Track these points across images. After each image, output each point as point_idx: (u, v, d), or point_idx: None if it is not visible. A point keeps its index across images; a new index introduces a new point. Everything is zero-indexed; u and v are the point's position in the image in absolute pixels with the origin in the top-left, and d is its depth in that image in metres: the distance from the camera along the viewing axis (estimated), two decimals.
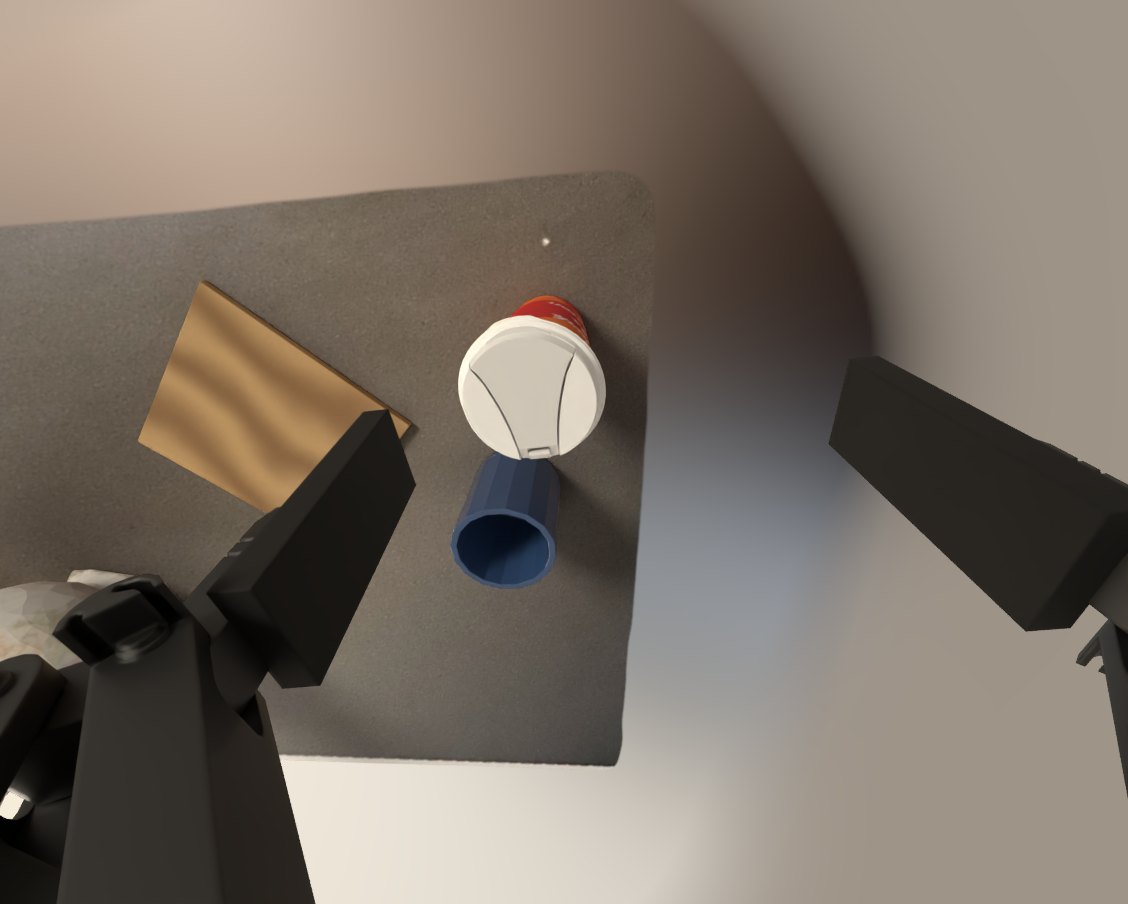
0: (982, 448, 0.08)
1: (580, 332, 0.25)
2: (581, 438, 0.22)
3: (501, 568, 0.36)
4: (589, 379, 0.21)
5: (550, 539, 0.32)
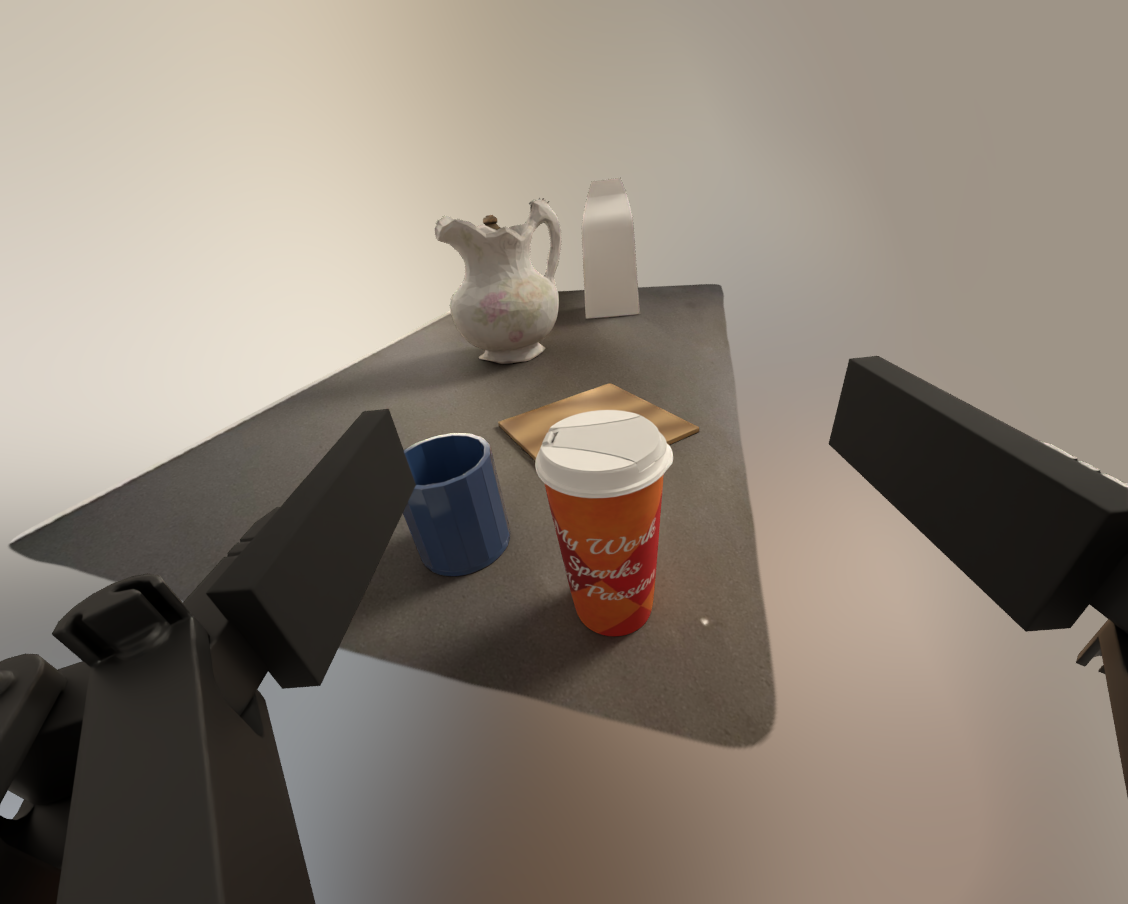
0: (982, 448, 0.08)
1: (632, 541, 0.24)
2: (551, 459, 0.23)
3: (415, 467, 0.37)
4: (609, 468, 0.21)
5: (426, 487, 0.31)
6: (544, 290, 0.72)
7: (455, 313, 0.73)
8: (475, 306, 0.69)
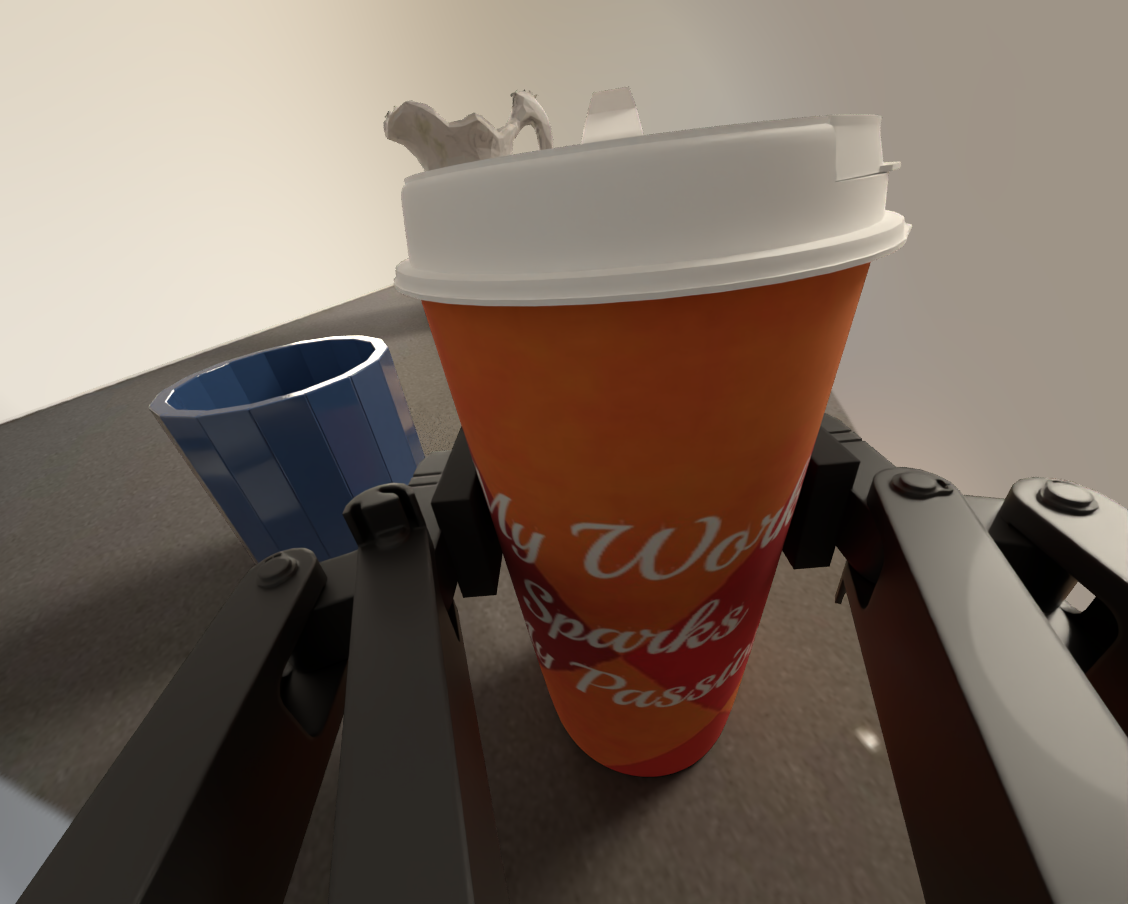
0: None
1: (739, 536, 0.07)
2: None
3: (254, 397, 0.19)
4: (691, 130, 0.04)
5: (208, 413, 0.13)
6: None
7: None
8: None
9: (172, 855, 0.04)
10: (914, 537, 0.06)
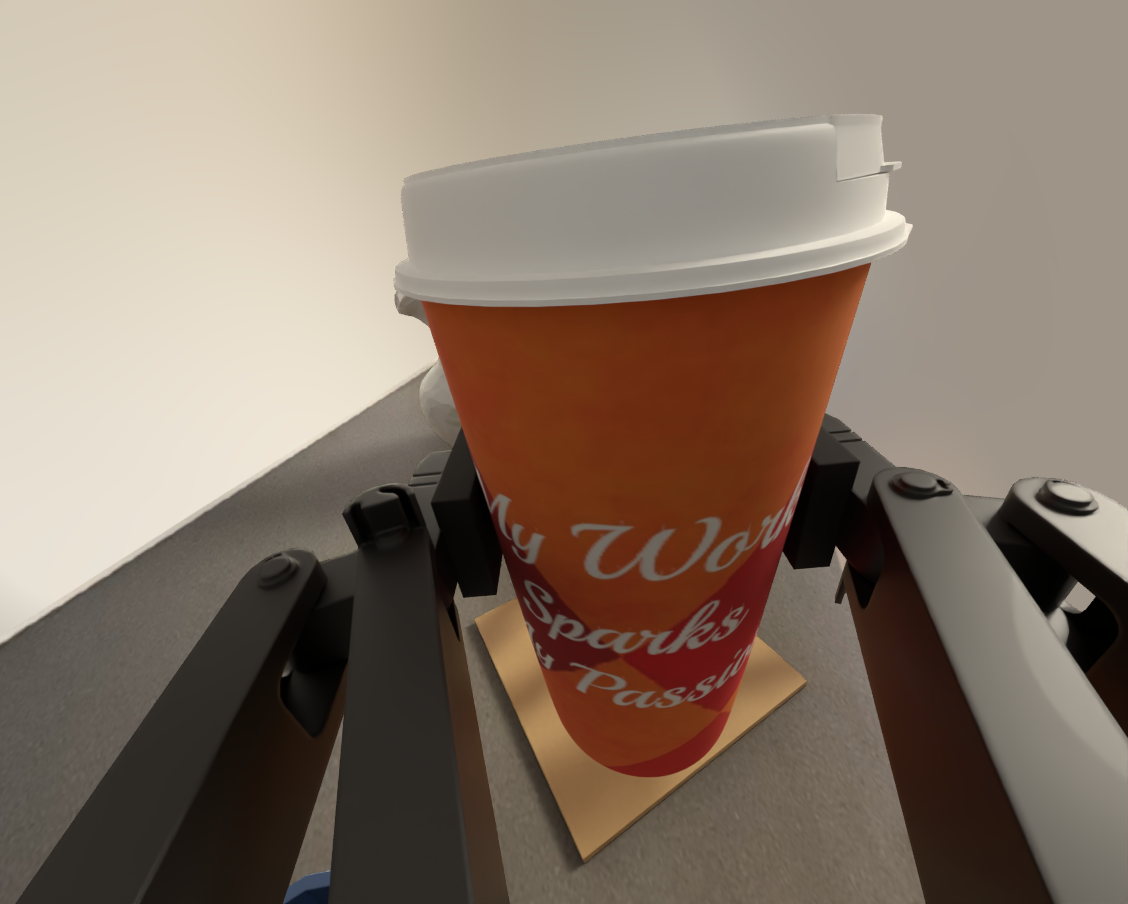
0: None
1: (740, 537, 0.07)
2: None
3: None
4: (692, 130, 0.04)
5: None
6: None
7: (424, 408, 0.53)
8: (450, 406, 0.49)
9: (172, 855, 0.04)
10: (914, 537, 0.06)
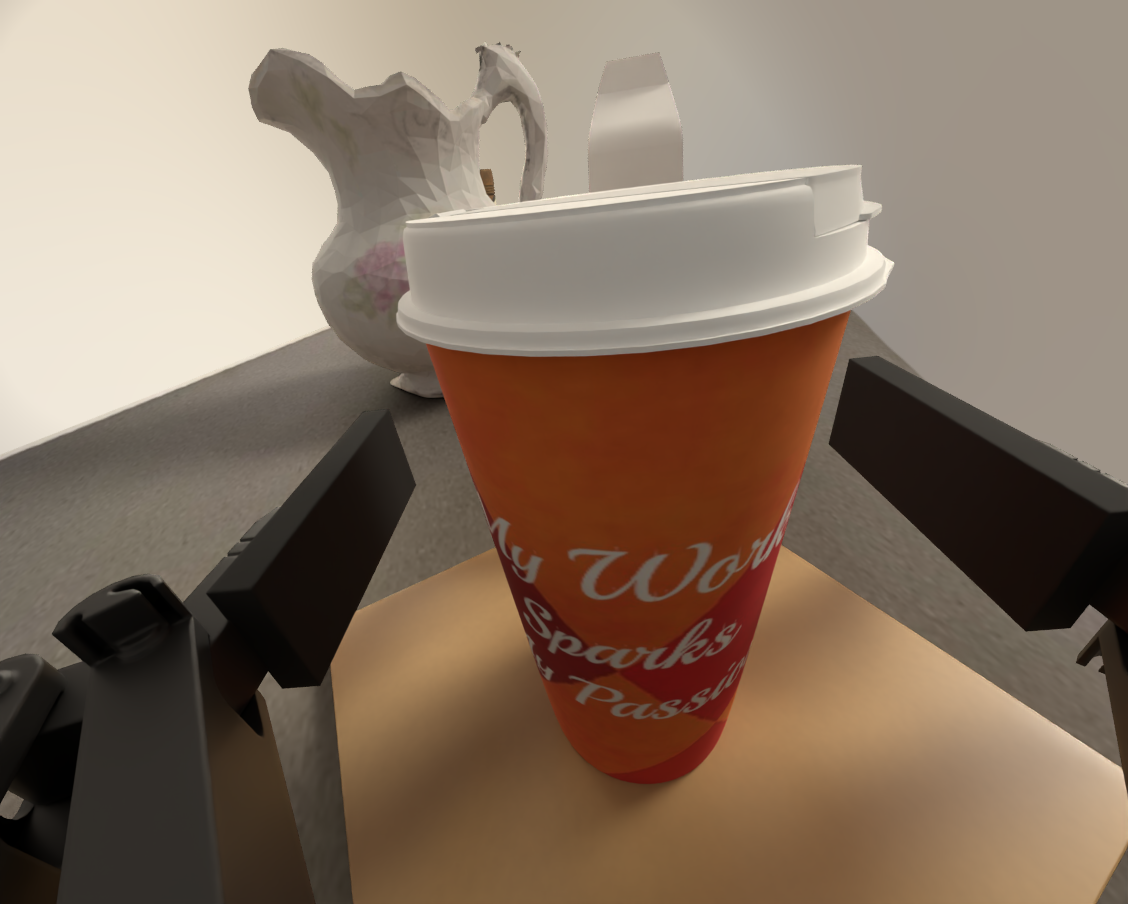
0: (982, 448, 0.08)
1: (730, 560, 0.07)
2: (421, 223, 0.06)
3: None
4: (676, 194, 0.04)
5: None
6: None
7: (315, 293, 0.34)
8: (344, 275, 0.30)
9: None
10: None
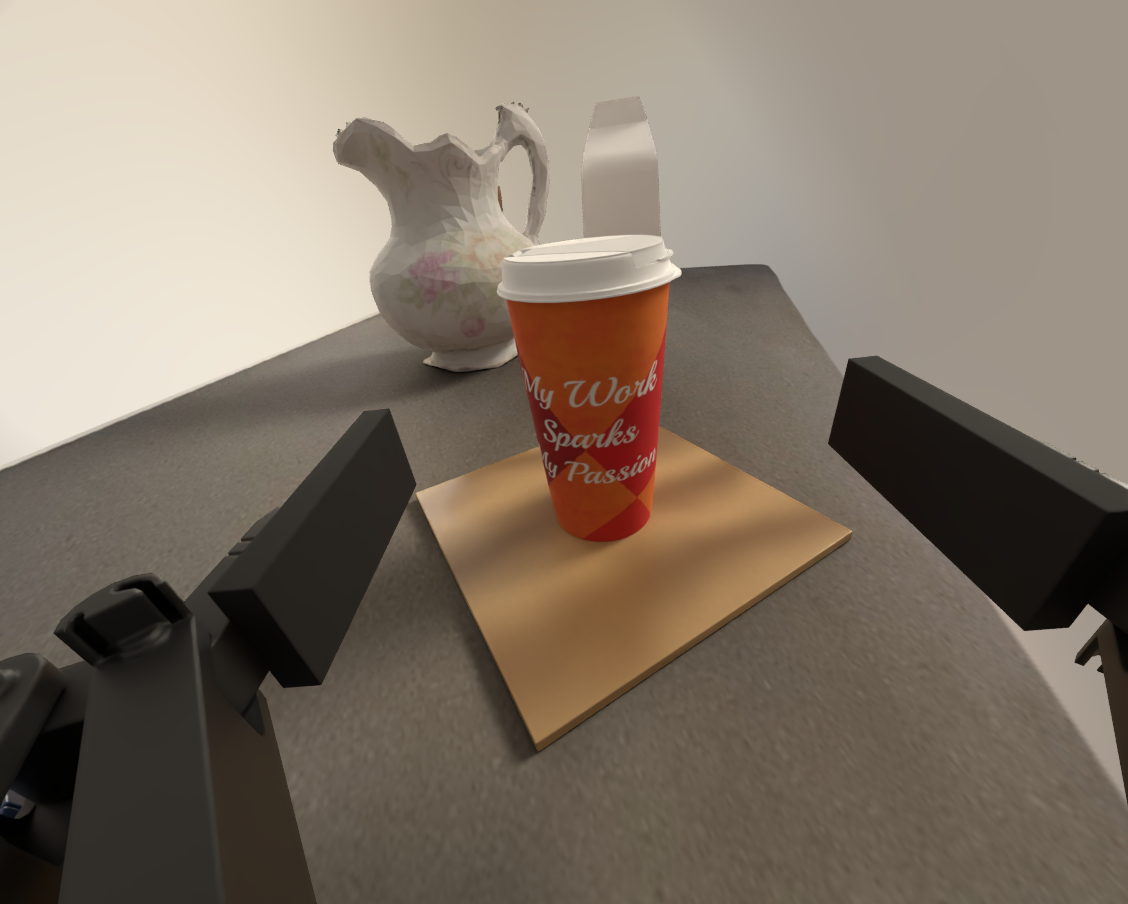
0: (981, 448, 0.08)
1: (626, 388, 0.18)
2: (514, 261, 0.17)
3: None
4: (593, 257, 0.15)
5: None
6: None
7: (374, 290, 0.45)
8: (401, 276, 0.41)
9: None
10: None
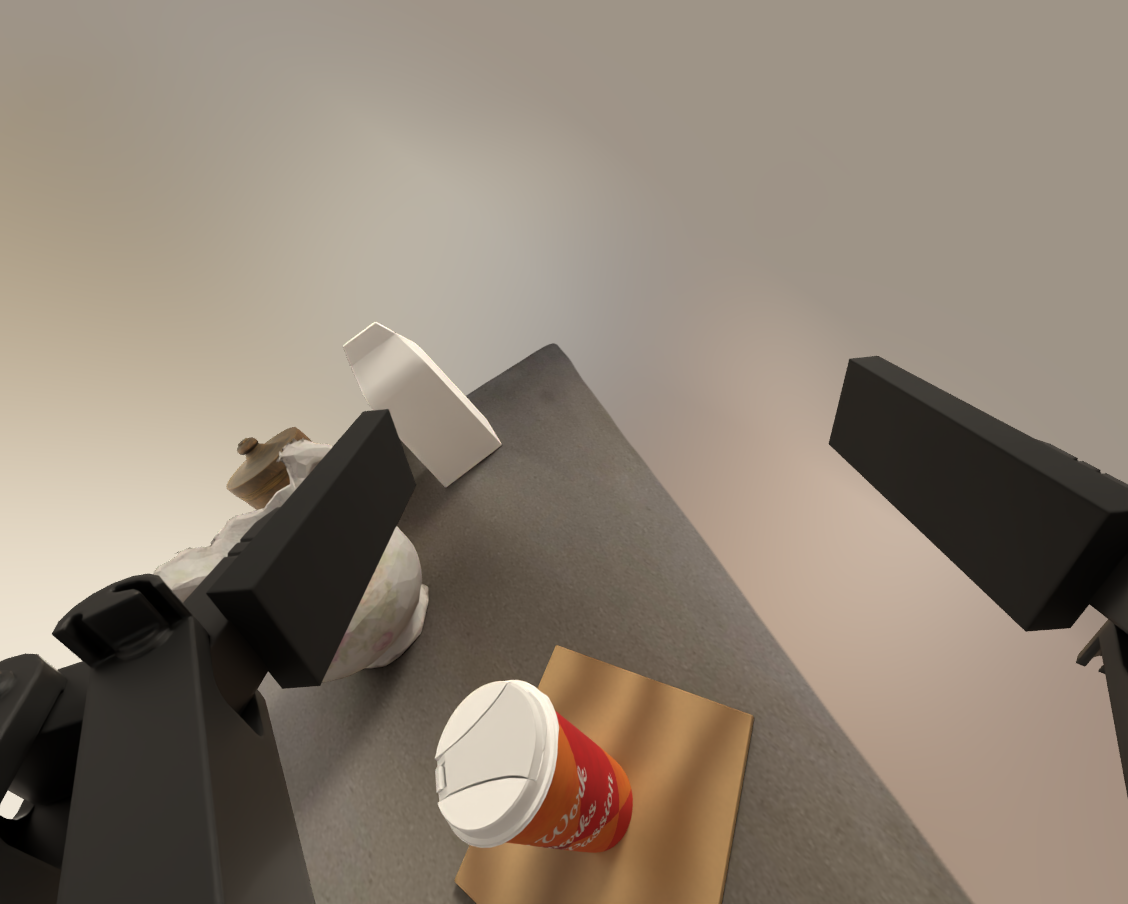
0: (982, 448, 0.08)
1: (573, 807, 0.24)
2: (453, 822, 0.21)
3: None
4: (508, 805, 0.21)
5: None
6: None
7: None
8: None
9: None
10: None
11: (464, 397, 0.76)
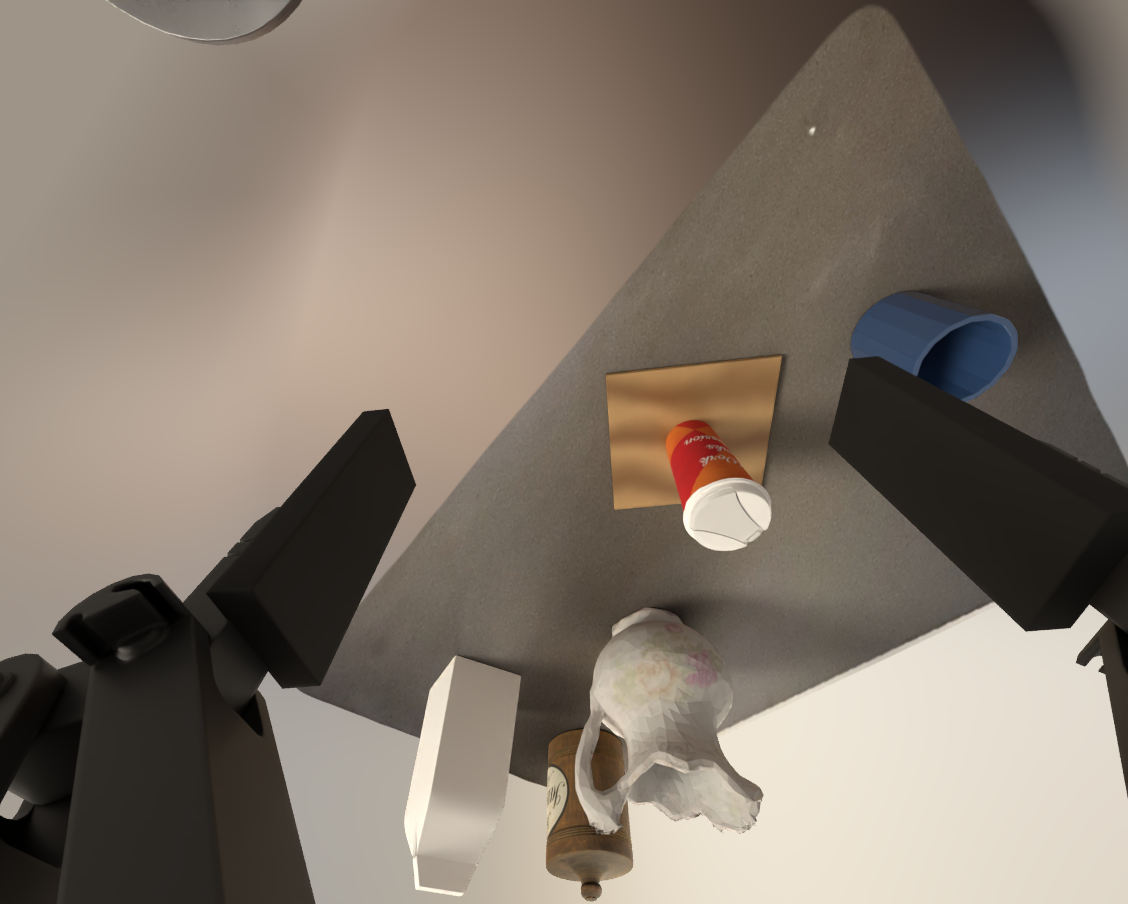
0: (982, 448, 0.08)
1: (720, 458, 0.40)
2: (770, 517, 0.37)
3: (956, 387, 0.39)
4: (751, 494, 0.36)
5: (1004, 320, 0.34)
6: (630, 677, 0.54)
7: None
8: (721, 675, 0.55)
9: None
10: None
11: (427, 727, 0.68)
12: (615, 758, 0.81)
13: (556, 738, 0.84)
